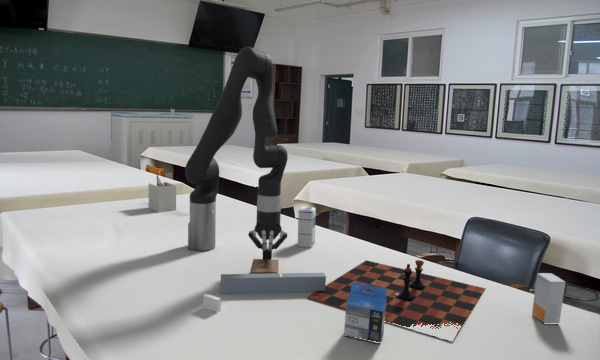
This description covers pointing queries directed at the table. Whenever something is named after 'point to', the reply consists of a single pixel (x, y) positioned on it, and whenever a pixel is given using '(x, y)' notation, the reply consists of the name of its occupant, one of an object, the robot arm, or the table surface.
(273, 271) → the block
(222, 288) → the board
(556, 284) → the skincare box
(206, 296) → the eraser
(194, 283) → the table surface
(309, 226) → the syrup box
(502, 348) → the table surface
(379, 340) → the label tape cartridge
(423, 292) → the chessboard
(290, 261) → the table surface
